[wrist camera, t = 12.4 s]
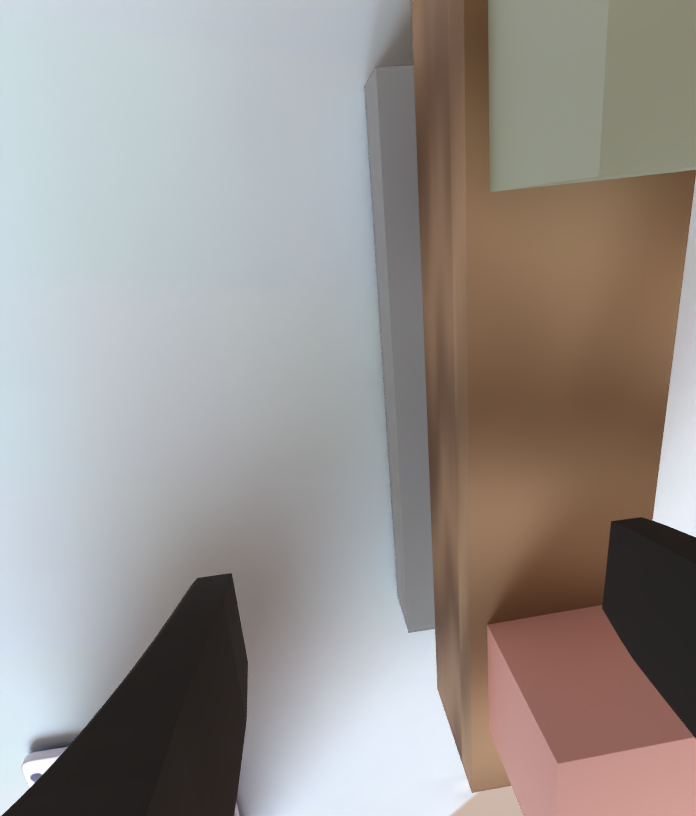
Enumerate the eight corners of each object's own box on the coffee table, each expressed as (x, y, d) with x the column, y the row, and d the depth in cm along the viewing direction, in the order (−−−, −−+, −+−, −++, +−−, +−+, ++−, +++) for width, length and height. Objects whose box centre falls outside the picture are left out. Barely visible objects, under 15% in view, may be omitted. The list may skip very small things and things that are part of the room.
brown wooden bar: (561, 668, 21) (621, 765, 17) (437, 688, 21) (472, 792, 17) (610, -97, 13) (746, -228, 9) (407, -87, 12) (461, -221, 9)
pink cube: (615, 706, 16) (714, 851, 13) (488, 730, 16) (552, 886, 12) (624, 600, 15) (740, 728, 11) (487, 624, 15) (557, 763, 11)
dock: (573, 570, 22) (600, 602, 20) (397, 596, 21) (408, 632, 19) (608, 68, 16) (652, 48, 14) (364, 86, 15) (375, 67, 13)
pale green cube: (674, 172, 11) (873, 146, 7) (489, 192, 11) (599, 176, 7) (697, -63, 10) (956, -242, 6) (487, -49, 9) (621, -226, 6)
